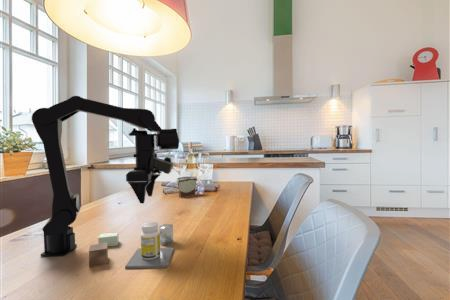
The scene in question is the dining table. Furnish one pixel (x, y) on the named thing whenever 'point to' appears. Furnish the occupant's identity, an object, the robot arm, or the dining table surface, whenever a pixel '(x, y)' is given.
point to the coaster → (159, 262)
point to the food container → (186, 186)
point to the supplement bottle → (150, 241)
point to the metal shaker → (166, 234)
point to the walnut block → (98, 254)
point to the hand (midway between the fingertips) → (146, 199)
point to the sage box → (109, 239)
